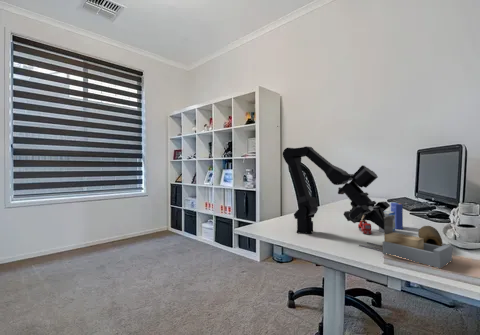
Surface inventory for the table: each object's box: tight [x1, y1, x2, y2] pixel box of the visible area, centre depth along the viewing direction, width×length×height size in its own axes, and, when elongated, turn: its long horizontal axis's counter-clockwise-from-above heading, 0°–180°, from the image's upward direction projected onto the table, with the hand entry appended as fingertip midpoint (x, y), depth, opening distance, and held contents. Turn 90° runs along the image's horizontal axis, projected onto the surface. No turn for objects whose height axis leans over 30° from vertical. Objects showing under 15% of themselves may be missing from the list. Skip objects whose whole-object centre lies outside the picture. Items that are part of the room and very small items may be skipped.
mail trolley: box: [383, 215, 424, 250], centre depth 84 cm, size 10×6×12 cm, turn 34°
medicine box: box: [378, 210, 396, 233], centre depth 114 cm, size 8×4×9 cm, turn 131°
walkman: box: [388, 201, 404, 230], centre depth 122 cm, size 8×3×12 cm, turn 170°
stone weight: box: [417, 225, 444, 246], centre depth 92 cm, size 15×7×7 cm, turn 151°
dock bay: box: [359, 240, 453, 269], centre depth 85 cm, size 25×10×5 cm, turn 34°
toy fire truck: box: [357, 214, 372, 235], centre depth 115 cm, size 3×14×10 cm, turn 168°
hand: (386, 229), depth 88 cm, fingers closed
